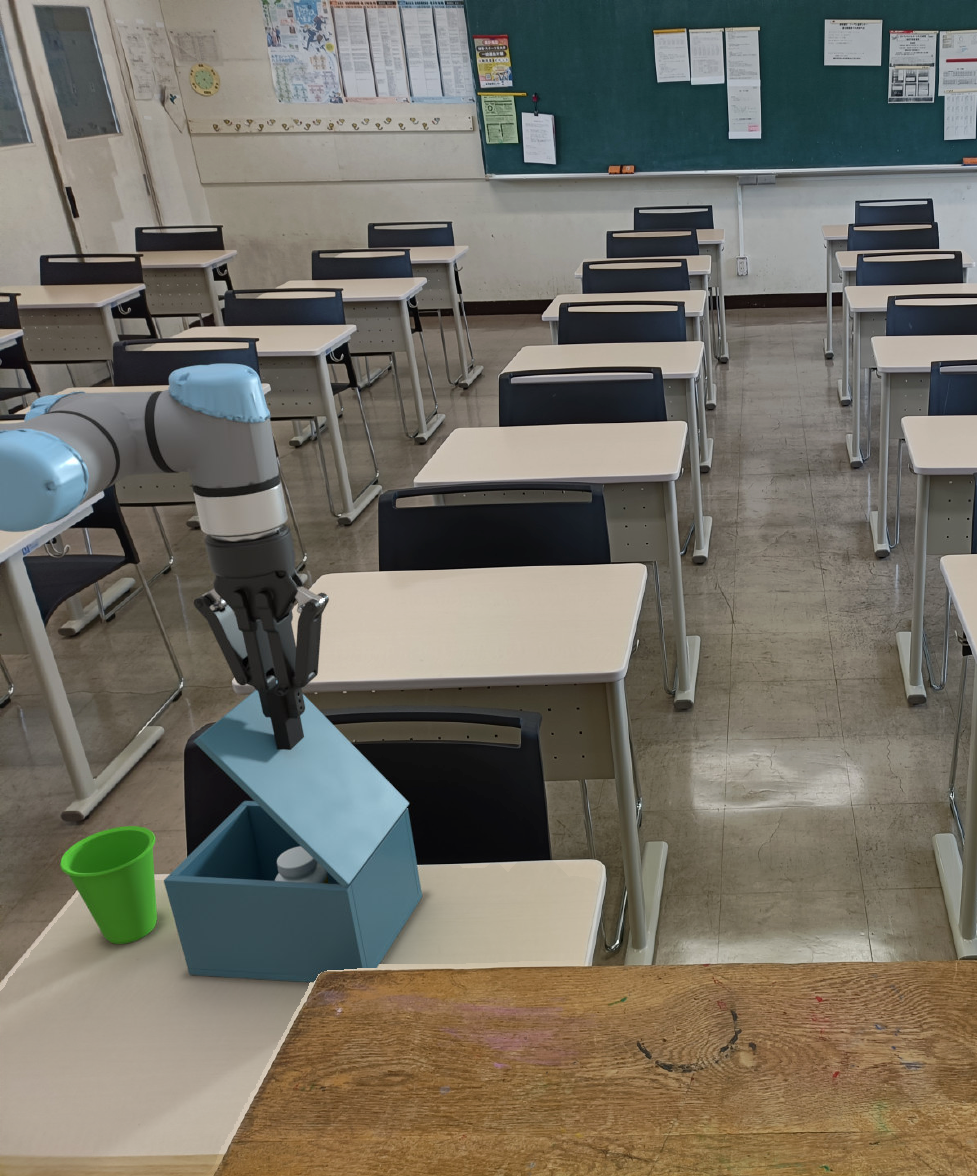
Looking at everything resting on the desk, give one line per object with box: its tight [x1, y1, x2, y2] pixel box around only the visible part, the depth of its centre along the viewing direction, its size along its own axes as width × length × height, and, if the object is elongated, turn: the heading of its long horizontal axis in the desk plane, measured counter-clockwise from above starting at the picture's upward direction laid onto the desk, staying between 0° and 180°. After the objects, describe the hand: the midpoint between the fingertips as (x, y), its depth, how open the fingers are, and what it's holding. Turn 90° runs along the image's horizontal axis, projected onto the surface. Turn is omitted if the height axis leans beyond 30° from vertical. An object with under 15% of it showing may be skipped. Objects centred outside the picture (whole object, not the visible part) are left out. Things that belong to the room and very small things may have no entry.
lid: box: [193, 680, 410, 888], centre depth 110 cm, size 21×15×1 cm
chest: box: [163, 800, 423, 983], centre depth 116 cm, size 20×15×12 cm
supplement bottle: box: [275, 846, 329, 884], centre depth 116 cm, size 5×5×10 cm
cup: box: [59, 825, 158, 945], centre depth 117 cm, size 9×9×11 cm
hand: (290, 742), depth 109 cm, fingers closed
